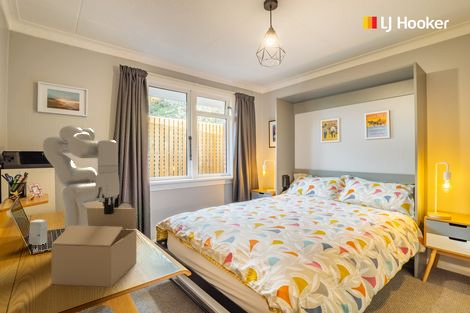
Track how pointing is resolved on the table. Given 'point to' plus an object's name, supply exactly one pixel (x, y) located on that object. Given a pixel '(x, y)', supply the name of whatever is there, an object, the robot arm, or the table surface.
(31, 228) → the skincare box
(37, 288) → the table surface
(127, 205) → the magnifying glass
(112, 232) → the front flap
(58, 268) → the carton
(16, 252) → the table surface
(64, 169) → the robot arm
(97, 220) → the back flap
